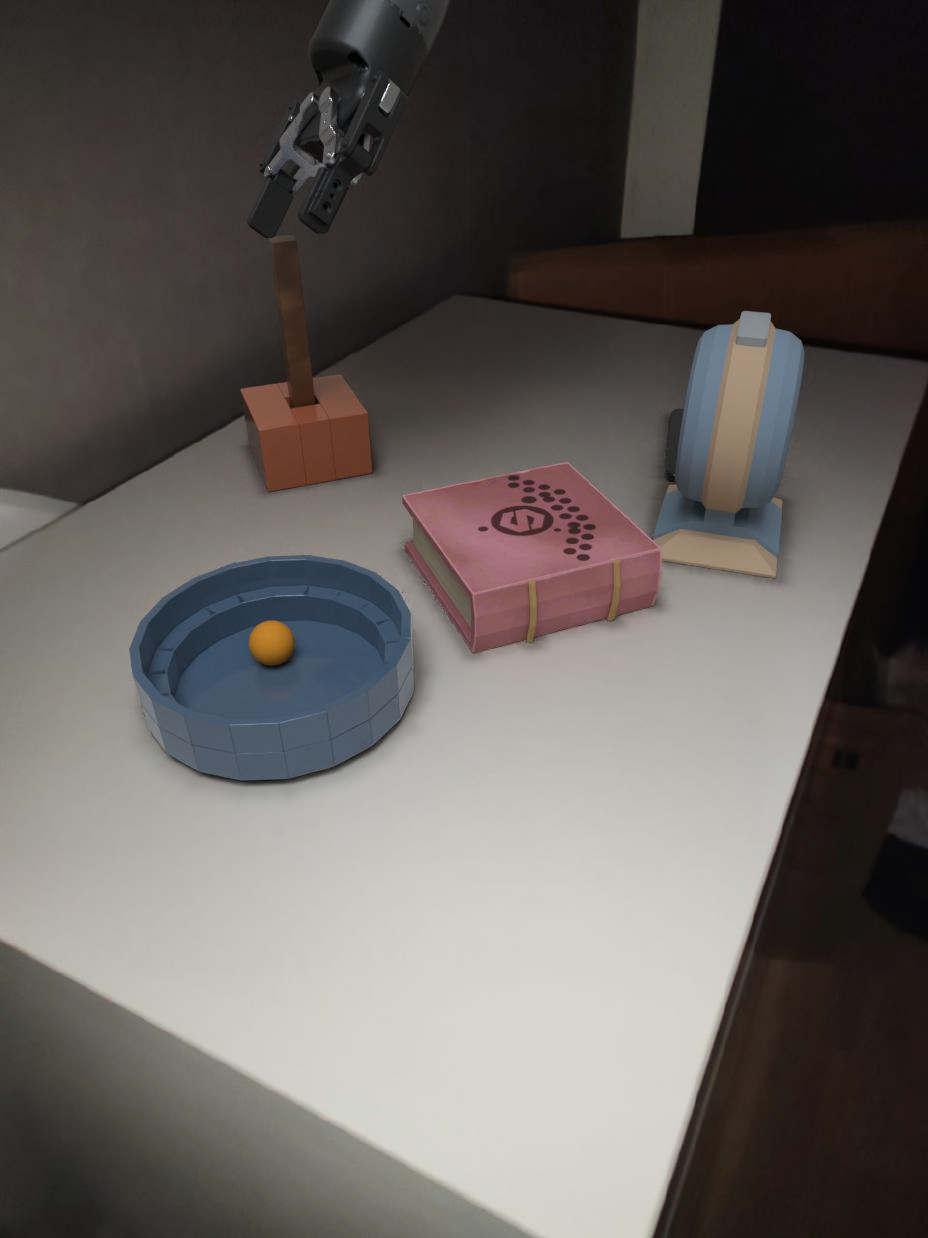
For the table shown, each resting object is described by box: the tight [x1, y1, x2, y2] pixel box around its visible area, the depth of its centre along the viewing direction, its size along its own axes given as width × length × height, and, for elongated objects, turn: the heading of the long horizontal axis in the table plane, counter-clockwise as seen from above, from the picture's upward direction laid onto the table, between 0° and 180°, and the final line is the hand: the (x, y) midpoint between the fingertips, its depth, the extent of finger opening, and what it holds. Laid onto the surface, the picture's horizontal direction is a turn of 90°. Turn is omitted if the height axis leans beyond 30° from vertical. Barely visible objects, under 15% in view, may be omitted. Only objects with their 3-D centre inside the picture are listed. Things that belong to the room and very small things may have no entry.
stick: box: [267, 234, 316, 408], centre depth 81 cm, size 2×2×20 cm
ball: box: [249, 620, 295, 666], centre depth 61 cm, size 3×3×3 cm
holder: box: [239, 373, 373, 493], centre depth 85 cm, size 10×10×6 cm
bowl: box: [128, 554, 415, 781], centre depth 59 cm, size 17×17×5 cm
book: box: [401, 461, 663, 654], centre depth 69 cm, size 14×15×5 cm
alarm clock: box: [652, 310, 805, 579], centre depth 70 cm, size 14×10×18 cm
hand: (283, 229), depth 65 cm, fingers open, 8 cm apart
